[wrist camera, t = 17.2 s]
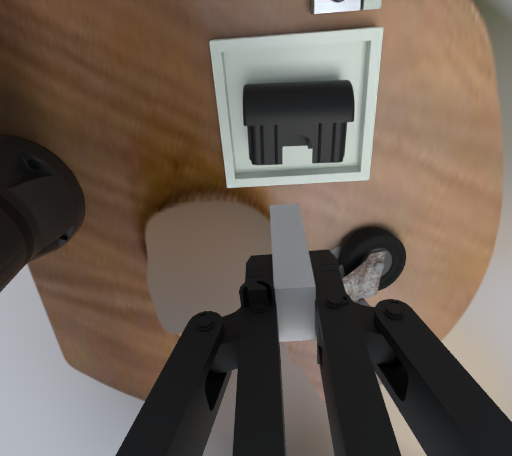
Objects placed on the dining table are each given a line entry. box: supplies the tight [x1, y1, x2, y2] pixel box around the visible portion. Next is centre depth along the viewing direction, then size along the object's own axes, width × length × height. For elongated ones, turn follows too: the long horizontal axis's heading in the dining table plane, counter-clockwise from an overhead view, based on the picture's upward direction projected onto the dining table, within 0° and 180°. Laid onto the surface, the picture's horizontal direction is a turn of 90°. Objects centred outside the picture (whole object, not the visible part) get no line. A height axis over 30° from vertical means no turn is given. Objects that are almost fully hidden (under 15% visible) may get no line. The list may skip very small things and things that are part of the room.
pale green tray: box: [209, 0, 383, 188], centre depth 37 cm, size 16×20×3 cm
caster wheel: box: [330, 228, 406, 306], centre depth 47 cm, size 7×11×10 cm
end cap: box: [243, 80, 355, 165], centre depth 36 cm, size 10×7×7 cm
